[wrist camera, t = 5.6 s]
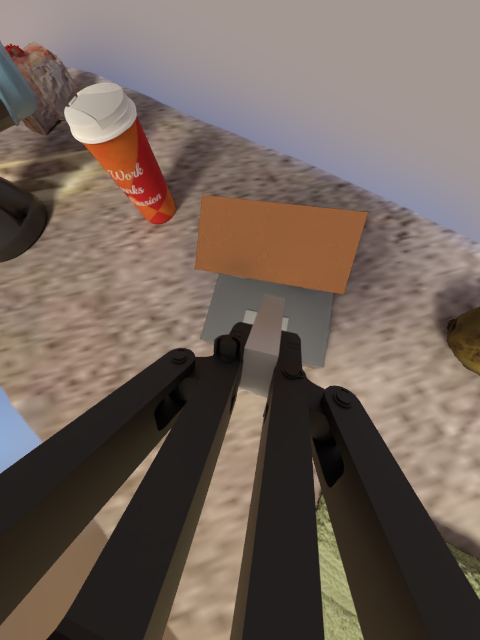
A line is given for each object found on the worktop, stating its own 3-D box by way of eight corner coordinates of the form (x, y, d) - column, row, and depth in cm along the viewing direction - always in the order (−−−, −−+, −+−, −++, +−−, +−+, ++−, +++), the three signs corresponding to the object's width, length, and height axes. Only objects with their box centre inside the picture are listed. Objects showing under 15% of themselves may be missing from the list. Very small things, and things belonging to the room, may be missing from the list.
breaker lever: (300, 283, 23) (343, 294, 8) (249, 275, 24) (194, 269, 9) (306, 258, 22) (367, 212, 7) (253, 250, 23) (202, 195, 8)
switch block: (313, 368, 24) (336, 366, 17) (209, 343, 26) (189, 332, 19) (333, 235, 29) (356, 189, 22) (242, 223, 31) (237, 179, 24)
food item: (65, 93, 47) (16, 22, 37) (88, 99, 45) (43, 27, 36) (28, 131, 44) (-36, 65, 35) (50, 139, 42) (-9, 72, 33)
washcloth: (480, 757, 15) (536, 855, 12) (276, 600, 19) (279, 644, 16) (508, 572, 18) (560, 614, 15) (323, 465, 22) (334, 481, 18)
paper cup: (132, 223, 33) (45, 123, 20) (152, 190, 35) (84, 76, 22) (170, 234, 32) (104, 133, 18) (189, 198, 33) (142, 82, 20)
